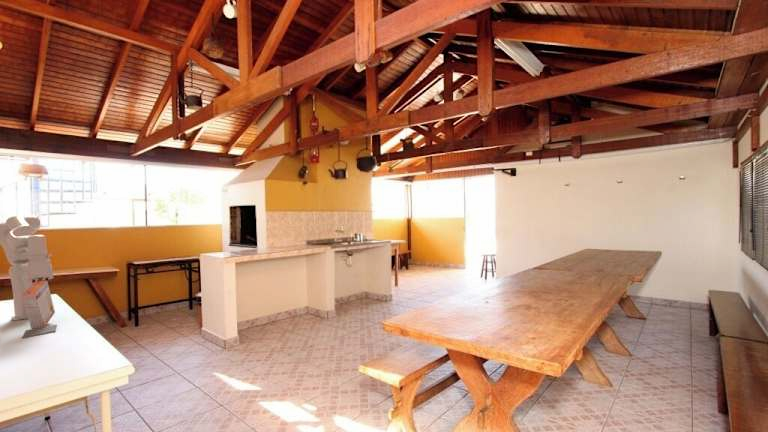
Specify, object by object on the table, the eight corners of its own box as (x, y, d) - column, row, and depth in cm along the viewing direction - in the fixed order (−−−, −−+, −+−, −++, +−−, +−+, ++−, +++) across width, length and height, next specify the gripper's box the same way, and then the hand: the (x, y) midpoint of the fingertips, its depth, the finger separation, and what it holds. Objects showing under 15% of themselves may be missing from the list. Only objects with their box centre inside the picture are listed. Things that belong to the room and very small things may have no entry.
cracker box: (41, 313, 204) (34, 281, 197) (55, 312, 206) (48, 279, 199) (29, 329, 192) (21, 295, 185) (44, 327, 194) (36, 293, 187)
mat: (25, 331, 189) (25, 330, 189) (56, 325, 197) (56, 324, 197) (22, 338, 178) (22, 337, 178) (55, 331, 186) (55, 330, 186)
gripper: (56, 255, 208) (60, 287, 208) (20, 259, 199) (23, 293, 199) (56, 256, 202) (59, 289, 203) (18, 260, 193) (21, 294, 193)
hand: (41, 291), depth 201 cm, fingers closed
